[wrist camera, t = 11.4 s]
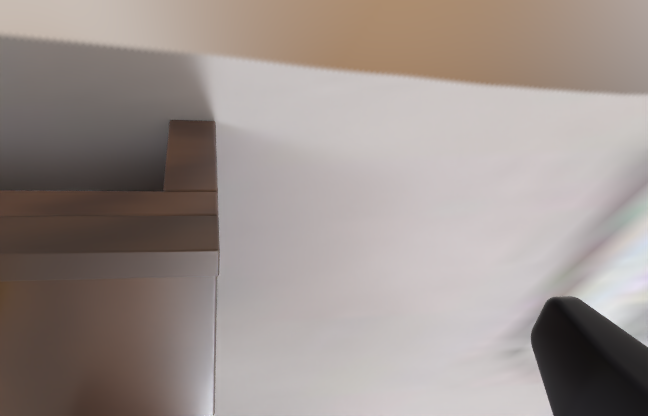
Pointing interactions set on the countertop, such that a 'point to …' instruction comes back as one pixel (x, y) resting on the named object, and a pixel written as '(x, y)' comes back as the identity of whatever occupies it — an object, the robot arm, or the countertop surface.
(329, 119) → the countertop surface
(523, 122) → the countertop surface
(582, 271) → the countertop surface
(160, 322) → the shelf
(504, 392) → the countertop surface
